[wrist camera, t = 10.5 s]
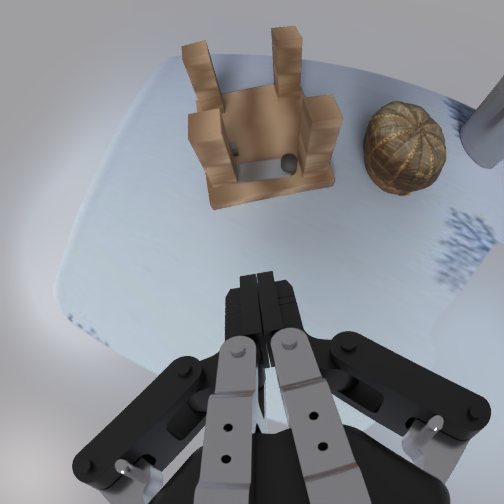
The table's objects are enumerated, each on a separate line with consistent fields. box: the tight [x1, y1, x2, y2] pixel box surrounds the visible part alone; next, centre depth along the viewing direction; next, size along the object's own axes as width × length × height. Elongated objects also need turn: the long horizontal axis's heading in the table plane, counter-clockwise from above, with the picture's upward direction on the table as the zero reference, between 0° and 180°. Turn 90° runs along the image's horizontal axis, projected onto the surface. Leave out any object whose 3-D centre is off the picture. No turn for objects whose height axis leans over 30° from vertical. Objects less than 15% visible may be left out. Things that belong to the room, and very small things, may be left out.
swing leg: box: [188, 108, 298, 187], centre depth 30 cm, size 10×3×12 cm, turn 97°
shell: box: [363, 101, 446, 196], centre depth 30 cm, size 11×11×12 cm
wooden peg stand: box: [182, 26, 343, 210], centre depth 32 cm, size 16×18×14 cm
